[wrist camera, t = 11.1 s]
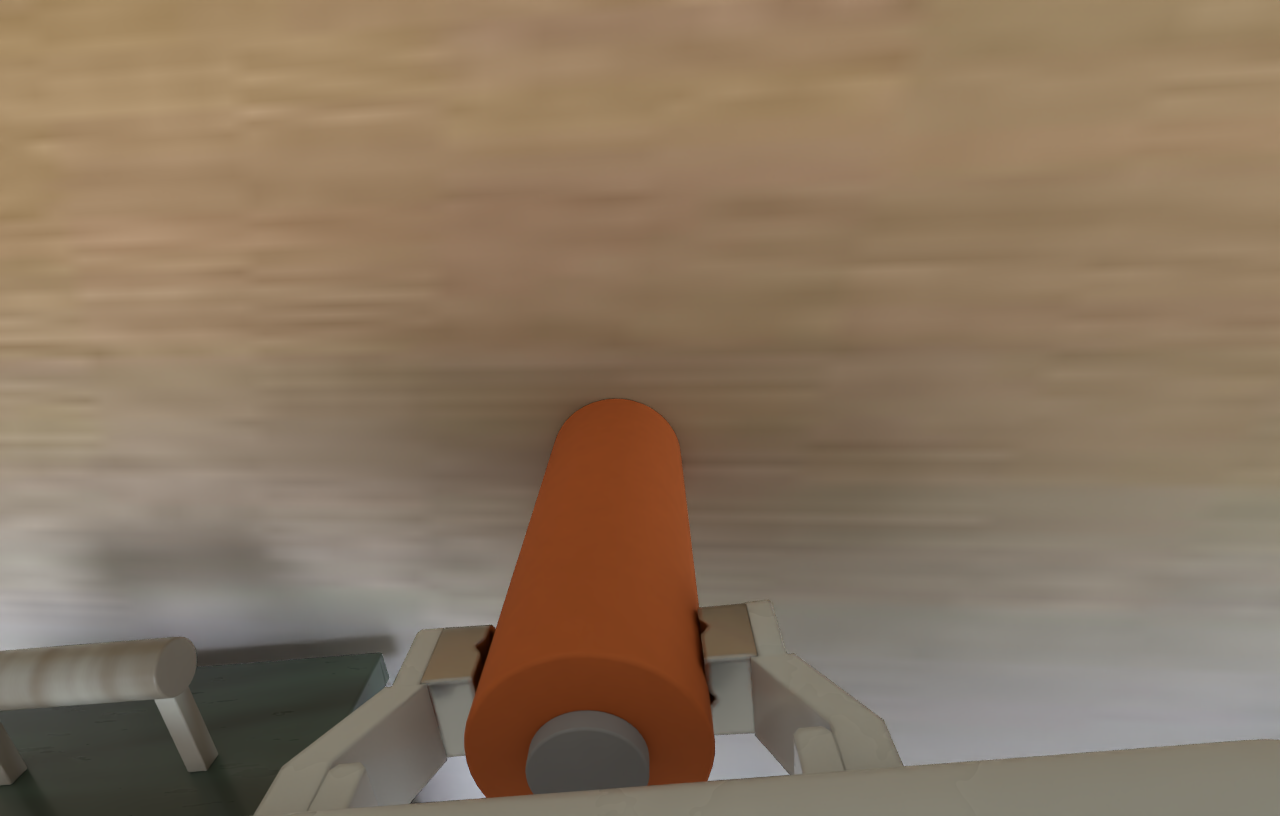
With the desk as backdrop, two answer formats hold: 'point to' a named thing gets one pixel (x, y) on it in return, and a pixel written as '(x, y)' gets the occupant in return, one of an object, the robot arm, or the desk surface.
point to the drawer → (162, 726)
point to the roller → (598, 624)
